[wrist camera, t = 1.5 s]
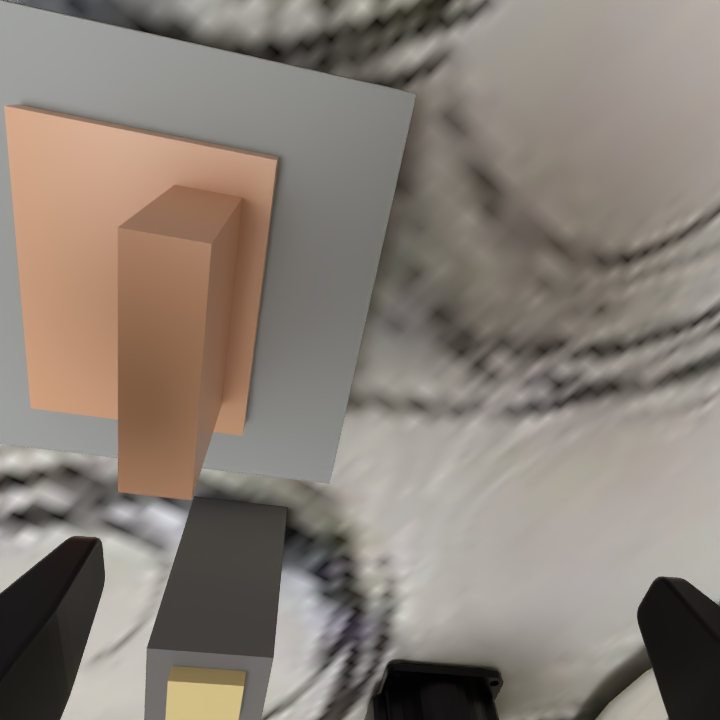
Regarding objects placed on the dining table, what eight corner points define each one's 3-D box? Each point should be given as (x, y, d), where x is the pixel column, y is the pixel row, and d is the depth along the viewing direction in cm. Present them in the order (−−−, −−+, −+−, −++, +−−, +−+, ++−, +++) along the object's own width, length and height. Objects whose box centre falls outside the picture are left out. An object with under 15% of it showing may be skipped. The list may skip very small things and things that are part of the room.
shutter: (278, 156, 13) (257, 194, 9) (245, 424, 17) (219, 535, 13) (17, 104, 13) (-130, 120, 9) (40, 397, 16) (-57, 506, 12)
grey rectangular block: (287, 507, 24) (272, 672, 17) (275, 570, 26) (257, 742, 19) (194, 496, 24) (142, 663, 17) (188, 562, 25) (139, 736, 19)
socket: (397, 89, 17) (416, 94, 13) (329, 416, 22) (329, 483, 18) (-196, -45, 14) (-366, -82, 11) (-110, 356, 20) (-205, 418, 16)
